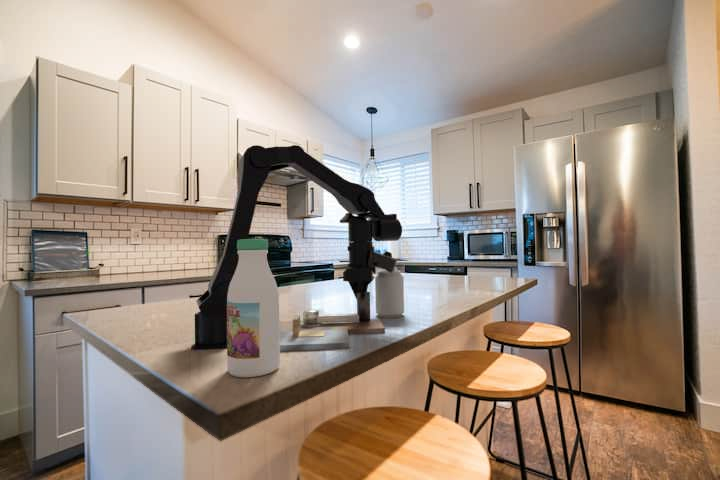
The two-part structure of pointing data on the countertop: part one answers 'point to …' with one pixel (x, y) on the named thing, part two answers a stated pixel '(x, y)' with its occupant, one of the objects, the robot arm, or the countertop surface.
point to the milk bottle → (253, 313)
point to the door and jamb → (323, 334)
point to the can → (389, 294)
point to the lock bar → (360, 316)
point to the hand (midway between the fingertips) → (362, 306)
